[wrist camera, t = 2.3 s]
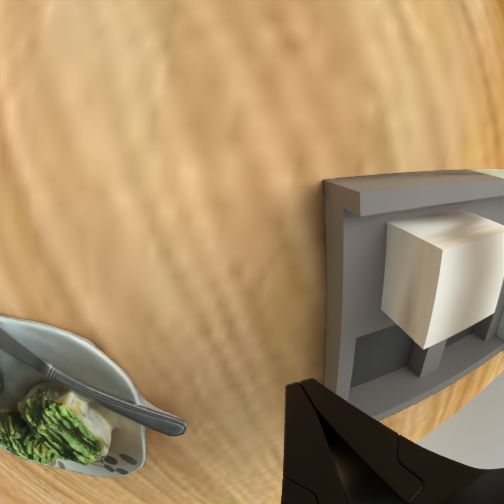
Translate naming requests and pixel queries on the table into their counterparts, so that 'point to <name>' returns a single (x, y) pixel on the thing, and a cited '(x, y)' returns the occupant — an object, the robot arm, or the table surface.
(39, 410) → the salad plate
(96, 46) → the table surface
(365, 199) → the box
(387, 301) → the cream block
